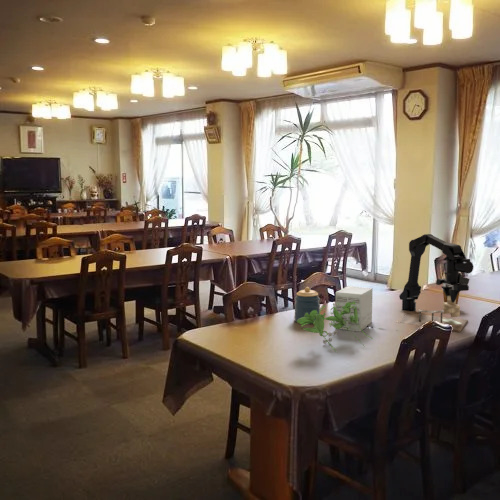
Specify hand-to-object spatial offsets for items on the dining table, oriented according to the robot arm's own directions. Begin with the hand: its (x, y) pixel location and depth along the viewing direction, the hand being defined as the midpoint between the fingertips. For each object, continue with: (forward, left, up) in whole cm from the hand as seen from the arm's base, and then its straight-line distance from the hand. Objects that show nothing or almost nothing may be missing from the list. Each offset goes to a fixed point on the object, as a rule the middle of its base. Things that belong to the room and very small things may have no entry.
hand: (451, 301), depth 265 cm
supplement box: (-40, -27, -11) cm, 50 cm away
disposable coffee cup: (-6, +34, -11) cm, 36 cm away
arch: (0, 0, -7) cm, 7 cm away
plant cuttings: (-35, -63, -11) cm, 73 cm away
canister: (-64, -29, -11) cm, 71 cm away
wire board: (-8, -3, -11) cm, 14 cm away
